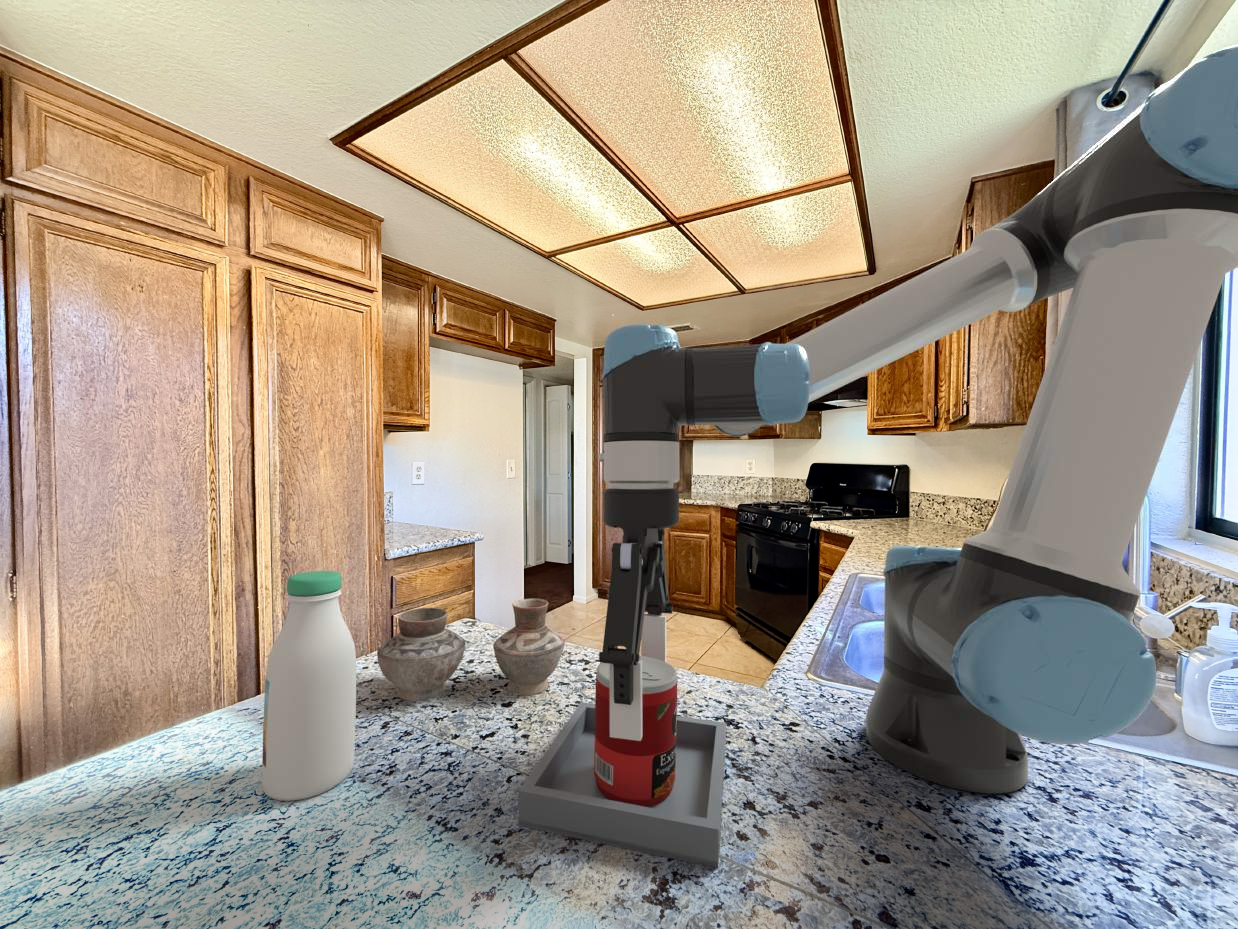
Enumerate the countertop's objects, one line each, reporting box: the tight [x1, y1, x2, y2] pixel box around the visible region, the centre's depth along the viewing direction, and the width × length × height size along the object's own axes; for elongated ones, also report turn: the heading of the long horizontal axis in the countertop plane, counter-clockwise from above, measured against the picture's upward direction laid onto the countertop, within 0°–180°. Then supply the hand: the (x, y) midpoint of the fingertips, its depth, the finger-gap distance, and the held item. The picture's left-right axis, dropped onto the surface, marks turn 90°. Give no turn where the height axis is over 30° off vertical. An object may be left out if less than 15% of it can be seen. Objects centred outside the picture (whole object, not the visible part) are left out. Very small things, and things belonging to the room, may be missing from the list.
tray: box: [517, 701, 727, 869], centre depth 49 cm, size 17×17×3 cm
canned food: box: [594, 655, 678, 807], centre depth 48 cm, size 8×8×11 cm
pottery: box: [376, 598, 566, 702], centre depth 69 cm, size 11×25×12 cm, turn 99°
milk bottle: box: [261, 570, 357, 802], centre depth 49 cm, size 8×8×20 cm
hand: (641, 701), depth 49 cm, fingers open, 13 cm apart
